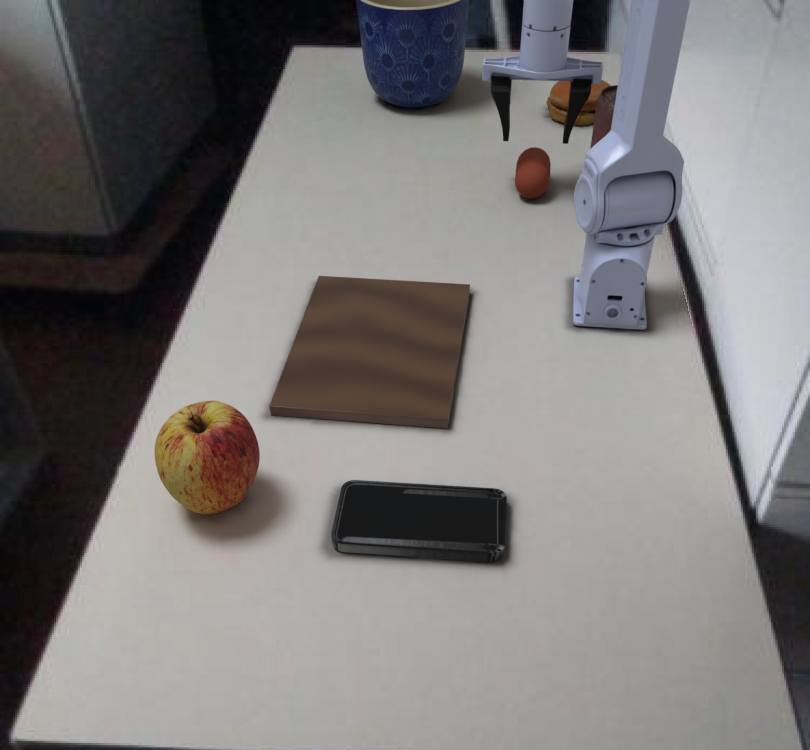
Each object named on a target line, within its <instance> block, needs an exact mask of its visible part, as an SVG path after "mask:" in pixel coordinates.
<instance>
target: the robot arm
mask: <svg viewBox="0 0 810 750" xmlns="http://www.w3.org/2000/svg"><path fill="white" fill-rule="evenodd" d="M690 3H691V0H630V4H629V10H628V11H629V12H628V17H627V23H626V29H625V30H626V31H625V37H624V43H623V49H622V56H621V61H620V69H619V74H618V81H617V85H618V87H617V94H616V100H615V107H614V113H613V119H612V126H611V131H610V132H609V133H608V134H607V135H606V136H605V137H604V138H602V139H601V140H600V141H599V142H598V143H597V144H595V145H594V146H593V147H592V148H591V149H590V148H589V150H587V151H586V152H585V154H584V159H583V162H582V166H581V167H582V168H581V171H580V175H579V177H578V179H577V181H576V183H575V186H574V193H573V208H574V215H575V218H576V222H577V224H578V226H579V227H580V228H581V230H582V231H583V232H584V233H585V242H584V249H583V254H582V255H583V256H582V261H581V269H580V276H579V275H578V276H575V277H574V279H573V303H572V304H573V305H572V306H573V307H572V308H573V309H572V312H573V313H572V323H573V325H574V326H577V327H590V328H591V327H592V328H593V327H594V328H606V329H607V328H608V329H609V328H610V329H623V330H625V329H626V330H641V331H643V330H646V329H647V327H648V323H647V310H646V295H645V292H646V287H647V281H648V271H649V266H650V262H651V258H652V252H653V248H654V243H655V240H656V236H659V235H662V234H663V231H664V226H665V224H666V225H667V224H670V223H671V222H672V221H673V220H674V219H675V217H676V216H677V214H678V212H679V210H680V208H681V204H682V200H683V173H684V172H683V171H684V166H685V165H684V164H685V160H684V157H683V155H682V153H681V152H680V150H679V148H678V147H677V146H676V145H675V144H674V143H673V142H671V141H670V140H669V139H668V137H666V136H664V133H665V128H666V123H667V118H668V112H669V109H670V103H671V102H670V101H671V97H672V93H673V88H674V83H675V77H676V74H677V68H678V63H679V58H680V54H681V49H682V44H683V39H684V34H685V28H686V23H687V19H688V15H689V10H690V5H691V4H690ZM573 7H574V0H523V7H522V9H523V10H522V23H521V33H520V35H521V36H520V47H519V55H515V56H514V55H513V56H505V57H497V58H496V57H495V58H485V57H484V58H483V61H482V74H481V75H482V76H481V77H482V79H481V81H482V82H490V87H489V90H490V95H491V97H492V100H493V101H494V104H495V107H496V109H497V114H498V116H499V120H500V125H501V130H502V141H503V142H509V141H510V130H511V95H512V83H513V81H538V82H539V81H540V82H541V81H542V82H558V81H569V82H571V83H570V92H569V102H568V110H567V115H566V120H565V123H564V126H563V134H562V145H563V144H565V145H568V144H569V141H570V138H571V134H572V130H573V129H574V126H575V125H574V123H575V121H576V119H577V117H578V115H579V113H580V111H581V109H582V107H583V106H584V104H585V103H586V101H587V100H588V98H589V96H590V93H591V84H594V85H600V84H601V80H602V77H603V70H604V62H603V61H593V60H586V59H581V58H575V57H570V56H569V57H568V51H569V44H570V43H569V42H570V34H571V25H572V15H573Z"/></svg>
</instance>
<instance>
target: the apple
mask: <svg viewBox="0 0 810 750" xmlns="http://www.w3.org/2000/svg"><path fill="white" fill-rule="evenodd" d="M260 454H261V453H260V446H259V441H258V437H257V435H256V433H255V430H254V428H253V426H252V425H251V423H250V421H249V420H248V418H247V417H246V416H245V415H244V414H243V413H242V412H241V411H239V410H238V409H237V408H235V407H234V406H232V405H230V404H227V403H225V402H223V401H218V400H206V401H205V400H204V401H198V402H195V403H191V404H189V405H185V406H184V407H182V408H180V409H178V410H176V411H175V412H174V413H172V414H171V416H169V417H168V418H167V419H166V421H164V423H163V424H162V426H161V428H160V429H159V432H158V434H157V436H156V439H155V442H154V461H155V466H156V470H157V474H158V476H159V479H160V481H161V483H162V485H163V487H164V488H165V489H166V491H167V493H169V495H170V496H171V497H172V498H173V499H174V500H175V501H176V502H178V503H179V504H180V505H181V506H183V507H184V508H186V509H187V510H189V511H191V512H193V513H196V514H200V515H213V514H219V513H222V512H225V511H227V510H229V509H231V508H233V507H235V506H237V505H238V504H240V503H241V502H242V501H243V500H244V498H246V496H247V495H248V493H249V491H250V489H251V487H252V485H253V483H254V481H255V479H256V477H257V474H258V470H259V466H260V461H261V460H260V457H261V456H260Z"/></svg>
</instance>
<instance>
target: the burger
mask: <svg viewBox="0 0 810 750" xmlns="http://www.w3.org/2000/svg"><path fill="white" fill-rule="evenodd" d="M570 83H571V82H569V81H556V82H555V83H554V85H553V86H552V88H551V89H550V91H549V96H548V97H547V99H546V105H547V109H548V114H549V116H550V118H551V119H553V120H554V121H557V122H560V123H563V124H565V120H566V115H567V110H568V102H569V92H570ZM610 86H612V85H611V84H609V83H608V82H607V81H605V80H603V79H601V84H600V85H594V84H591V93H590V96H589V98H588V100H587V101H586V103H585V104H584V106H583V107H582V109H581V111H580V113H579V115H578V117H577V119H576V121H575V123H574V126H588V125H591V124H594V119H595V111H596V104H597V99H598V98H599V96H600V95H601V92H602V90H603V89H605V88H606V87H610Z"/></svg>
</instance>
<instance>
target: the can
mask: <svg viewBox="0 0 810 750" xmlns="http://www.w3.org/2000/svg"><path fill="white" fill-rule="evenodd" d="M617 87H618V84H615V85H611V86H610V87H606V88H605V89H603V90H602V92H601V95H600V96H599V98H598V99H597V104H596V111H595V119H594V123H593V127H592V135H591V141H590V148H589V150H590V149H591V148H592V147H593V146H594V145H595V144H597V143H598V142H599V141H600V140H601V139H602V138H604V137H605V136H606V135H607V134H608V133H609V132H610V131H611V126H612V119H613V113H614V107H615V100H616V94H617Z"/></svg>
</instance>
